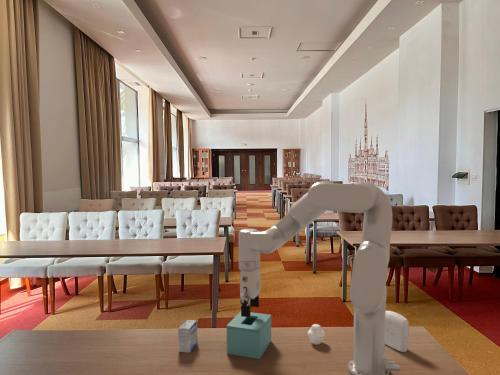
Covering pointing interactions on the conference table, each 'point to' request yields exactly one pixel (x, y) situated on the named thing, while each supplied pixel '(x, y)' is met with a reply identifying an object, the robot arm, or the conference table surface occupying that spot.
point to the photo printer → (396, 331)
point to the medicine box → (187, 336)
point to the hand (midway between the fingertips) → (250, 311)
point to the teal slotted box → (249, 335)
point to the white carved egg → (316, 334)
